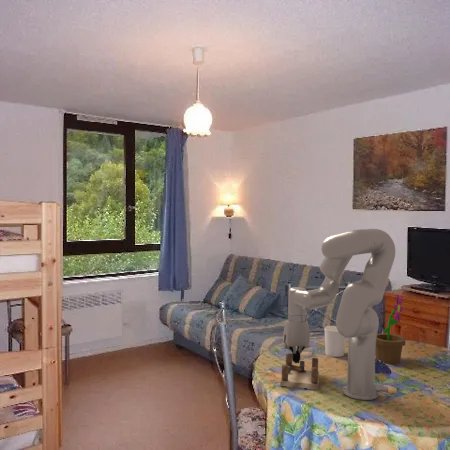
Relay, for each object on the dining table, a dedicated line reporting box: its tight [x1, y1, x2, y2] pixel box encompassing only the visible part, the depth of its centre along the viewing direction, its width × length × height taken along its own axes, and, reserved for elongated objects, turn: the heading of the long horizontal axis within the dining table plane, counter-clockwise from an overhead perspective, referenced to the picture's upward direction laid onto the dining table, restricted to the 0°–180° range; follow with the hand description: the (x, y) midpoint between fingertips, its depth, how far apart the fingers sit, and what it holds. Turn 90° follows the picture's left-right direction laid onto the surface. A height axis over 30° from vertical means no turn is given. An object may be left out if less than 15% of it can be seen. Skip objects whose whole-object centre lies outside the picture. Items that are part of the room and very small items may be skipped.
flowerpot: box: [375, 294, 406, 365], centre depth 209 cm, size 14×14×30 cm
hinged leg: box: [285, 352, 306, 372], centre depth 190 cm, size 8×2×6 cm, turn 53°
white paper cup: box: [324, 325, 347, 358], centre depth 217 cm, size 10×10×12 cm
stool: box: [279, 357, 320, 391], centre depth 183 cm, size 14×14×8 cm
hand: (296, 362), depth 194 cm, fingers closed
